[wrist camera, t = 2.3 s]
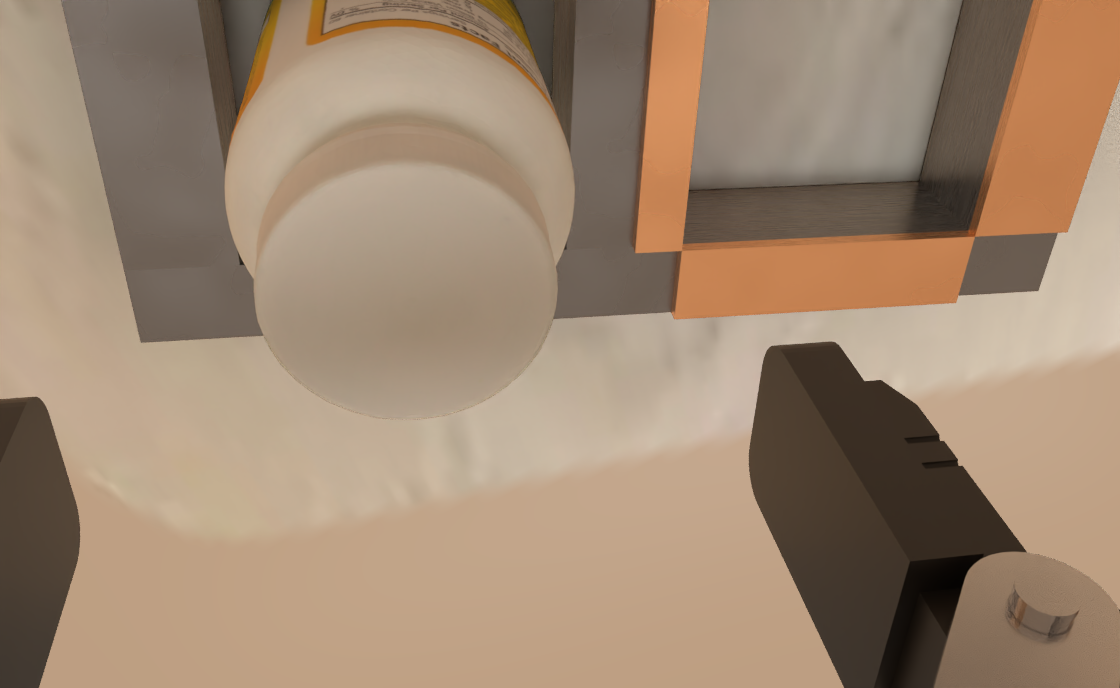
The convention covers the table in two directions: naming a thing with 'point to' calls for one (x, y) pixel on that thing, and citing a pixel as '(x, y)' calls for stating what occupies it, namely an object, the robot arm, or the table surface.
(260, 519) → the table surface
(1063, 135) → the tray
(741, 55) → the table surface
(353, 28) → the supplement bottle
